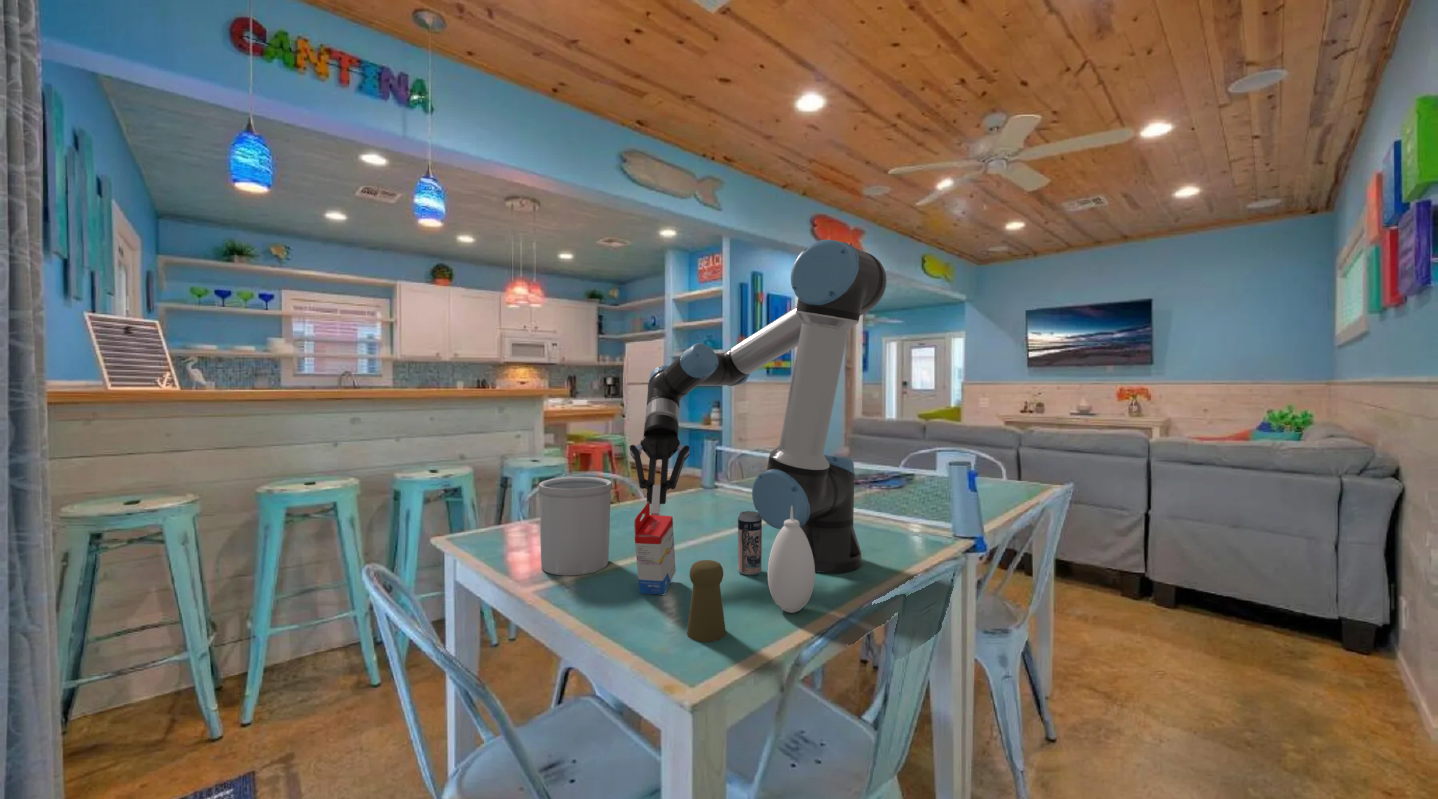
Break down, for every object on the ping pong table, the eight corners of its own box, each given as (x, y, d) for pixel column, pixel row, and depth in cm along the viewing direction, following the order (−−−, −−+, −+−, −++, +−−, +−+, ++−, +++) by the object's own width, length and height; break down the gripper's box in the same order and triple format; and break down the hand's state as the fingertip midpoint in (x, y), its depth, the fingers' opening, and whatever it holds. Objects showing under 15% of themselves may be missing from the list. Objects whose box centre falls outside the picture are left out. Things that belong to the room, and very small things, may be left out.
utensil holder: (587, 549, 127) (586, 473, 126) (626, 564, 117) (625, 482, 116) (526, 564, 116) (525, 481, 116) (563, 583, 106) (562, 492, 105)
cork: (686, 624, 88) (686, 556, 88) (723, 623, 89) (724, 555, 88) (687, 642, 82) (687, 569, 82) (727, 641, 83) (728, 568, 82)
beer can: (745, 577, 109) (745, 517, 109) (733, 570, 113) (733, 512, 113) (765, 573, 111) (766, 514, 111) (753, 566, 116) (753, 509, 115)
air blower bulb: (759, 613, 92) (760, 506, 92) (779, 598, 99) (780, 498, 98) (803, 624, 88) (804, 512, 88) (821, 607, 95) (822, 503, 94)
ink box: (664, 596, 100) (659, 521, 96) (638, 594, 101) (632, 520, 97) (676, 570, 108) (672, 501, 104) (652, 569, 109) (647, 500, 105)
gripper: (691, 434, 126) (688, 527, 110) (633, 434, 126) (622, 526, 110) (691, 413, 121) (688, 506, 105) (631, 412, 120) (619, 506, 104)
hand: (654, 516), depth 107 cm, fingers closed
